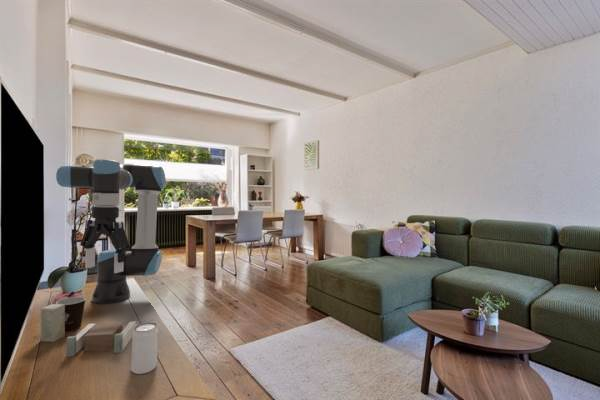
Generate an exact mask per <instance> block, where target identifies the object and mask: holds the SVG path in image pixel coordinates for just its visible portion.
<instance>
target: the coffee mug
mask: <svg viewBox="0 0 600 400" xmlns="http://www.w3.org/2000/svg"><path fill="white" fill-rule="evenodd" d="M56 304H61V305H65V333H68V332H72V331H76V330H78V329H80V328H81V327H82V323H83V316H84V310H85V306H86V305H85V304H86V297H84V296H83V297H70V298H65V299H61V300H59V301H57V302H56Z"/></svg>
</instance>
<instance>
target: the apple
mask: <svg viewBox="0 0 600 400" xmlns="http://www.w3.org/2000/svg"><path fill="white" fill-rule="evenodd" d="M70 297H84V296H83V294H81V293H78V292H74V291H71V293H70V292H67V293H62V294H59V295H57V296H56V297H55V298H54V300H53V304H56V302H57V301H59V300H61V299H65V298H70Z"/></svg>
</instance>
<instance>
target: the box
mask: <svg viewBox="0 0 600 400" xmlns="http://www.w3.org/2000/svg"><path fill="white" fill-rule="evenodd" d="M65 335H66V332H65V305H61V304H54V303H51V304H49V305H46V306H43V307H41V308H40V342H46V343H47V342H49V343H51V342H53V343H54V342H56V341H58V340H61V339H63V338H64V337H65Z"/></svg>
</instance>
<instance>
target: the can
mask: <svg viewBox="0 0 600 400" xmlns="http://www.w3.org/2000/svg"><path fill="white" fill-rule="evenodd" d="M134 329H135V330H134V332H133V336H132V339H131V341H132V343H131V367H130V368H131V372H132V373H133V374H134V375H135V374H136V375H144V374H148V373H150V372H152V371H153V370H155V369H156V367H157V365H158V364H157V363H158V342H159V341H158V340H159V337H158V336H159V329H158V327H157V324H156V323H155V322H145V323H144V322H142V323H140V324H136V327H135V328H134Z"/></svg>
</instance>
